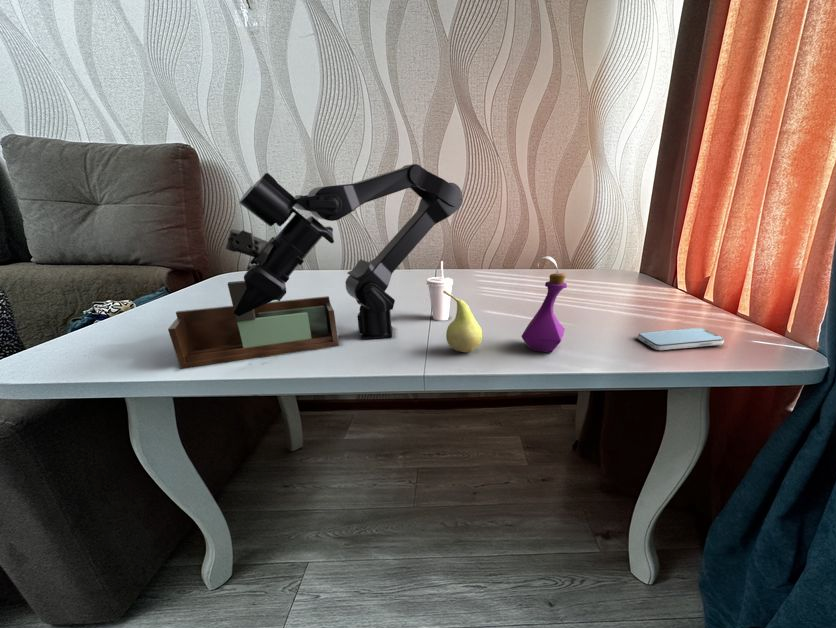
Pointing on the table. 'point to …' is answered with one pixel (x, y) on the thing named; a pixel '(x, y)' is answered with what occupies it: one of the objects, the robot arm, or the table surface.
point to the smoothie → (440, 295)
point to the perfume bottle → (546, 318)
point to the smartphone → (680, 339)
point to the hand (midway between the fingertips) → (237, 310)
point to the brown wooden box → (220, 338)
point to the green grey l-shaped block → (267, 323)
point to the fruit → (463, 329)
